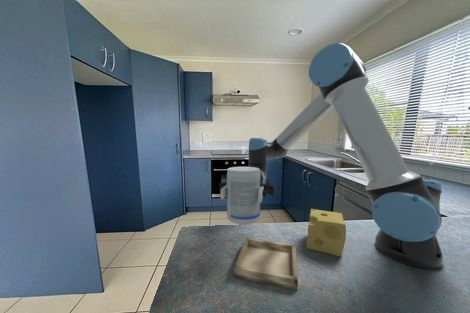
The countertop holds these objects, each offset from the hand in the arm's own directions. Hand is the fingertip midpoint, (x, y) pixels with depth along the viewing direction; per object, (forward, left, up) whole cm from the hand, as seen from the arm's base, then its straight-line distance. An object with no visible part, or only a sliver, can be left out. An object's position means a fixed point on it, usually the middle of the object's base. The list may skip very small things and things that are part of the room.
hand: (240, 195), depth 51 cm
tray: (-7, -2, -19) cm, 20 cm away
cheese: (-24, -17, -19) cm, 35 cm away
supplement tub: (0, -4, -8) cm, 9 cm away
